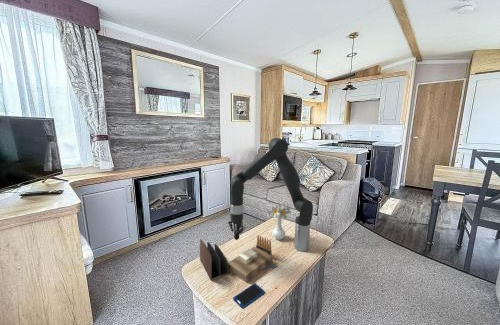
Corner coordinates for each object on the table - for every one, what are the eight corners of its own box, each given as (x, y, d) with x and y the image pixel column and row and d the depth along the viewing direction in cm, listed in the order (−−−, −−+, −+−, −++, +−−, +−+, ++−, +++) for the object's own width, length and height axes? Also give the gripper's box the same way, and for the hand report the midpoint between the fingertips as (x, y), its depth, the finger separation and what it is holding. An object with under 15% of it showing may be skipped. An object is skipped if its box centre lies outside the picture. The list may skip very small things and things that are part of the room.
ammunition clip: (255, 252, 127) (256, 234, 126) (257, 251, 129) (257, 233, 127) (270, 259, 121) (270, 240, 119) (271, 257, 122) (272, 239, 120)
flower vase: (262, 236, 147) (262, 203, 143) (284, 231, 154) (285, 199, 150) (271, 245, 135) (271, 209, 131) (294, 240, 142) (295, 205, 138)
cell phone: (232, 299, 92) (232, 297, 92) (255, 283, 101) (255, 282, 101) (242, 310, 87) (242, 308, 86) (265, 292, 96) (265, 291, 95)
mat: (271, 263, 117) (271, 262, 117) (284, 270, 111) (284, 270, 111) (247, 281, 103) (247, 281, 103) (260, 291, 97) (260, 291, 97)
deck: (254, 252, 127) (254, 246, 127) (272, 262, 118) (272, 256, 117) (227, 269, 112) (227, 263, 111) (245, 282, 102) (245, 275, 101)
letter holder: (210, 281, 103) (210, 256, 101) (199, 259, 120) (198, 237, 118) (228, 274, 108) (228, 250, 106) (215, 254, 125) (215, 233, 123)
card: (249, 252, 121) (249, 248, 120) (257, 256, 117) (257, 252, 116) (238, 259, 114) (238, 255, 114) (246, 264, 110) (246, 259, 110)
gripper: (249, 212, 116) (249, 240, 118) (233, 206, 124) (233, 233, 127) (240, 216, 110) (240, 246, 113) (224, 209, 119) (224, 237, 122)
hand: (236, 239), depth 120 cm, fingers closed
